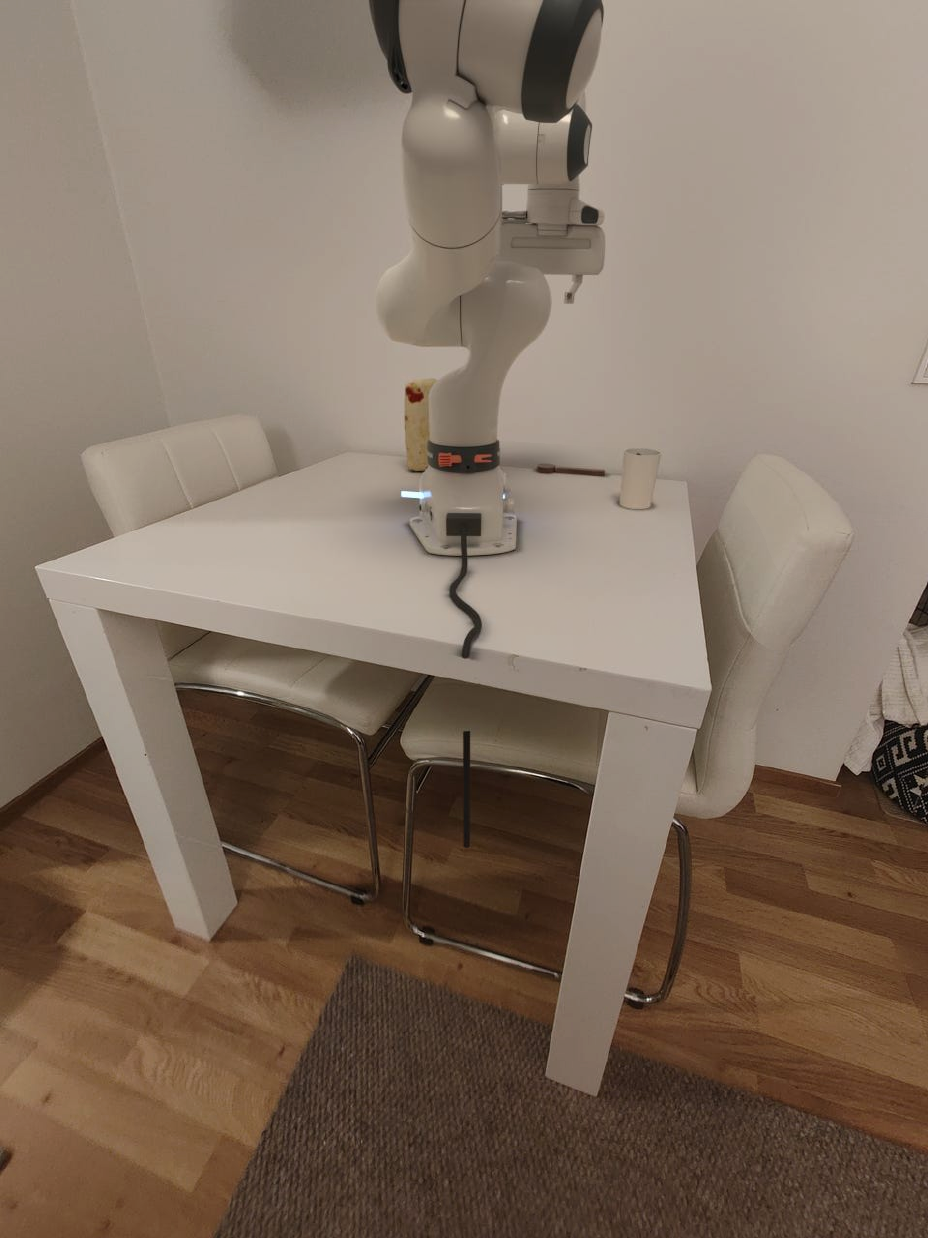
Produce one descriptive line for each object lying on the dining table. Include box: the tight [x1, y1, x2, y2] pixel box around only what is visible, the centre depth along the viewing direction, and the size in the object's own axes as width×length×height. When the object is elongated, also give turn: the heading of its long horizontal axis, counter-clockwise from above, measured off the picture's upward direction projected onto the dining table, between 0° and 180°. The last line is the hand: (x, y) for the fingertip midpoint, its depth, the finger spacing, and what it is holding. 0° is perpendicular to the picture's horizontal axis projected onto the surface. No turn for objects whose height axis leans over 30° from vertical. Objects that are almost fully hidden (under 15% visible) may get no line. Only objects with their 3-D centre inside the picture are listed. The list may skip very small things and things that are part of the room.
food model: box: [404, 378, 439, 472], centre depth 130 cm, size 10×7×20 cm
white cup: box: [619, 447, 662, 510], centre depth 107 cm, size 7×7×10 cm
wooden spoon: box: [536, 463, 606, 477], centre depth 131 cm, size 16×4×1 cm, turn 72°
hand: (543, 303), depth 106 cm, fingers open, 8 cm apart
